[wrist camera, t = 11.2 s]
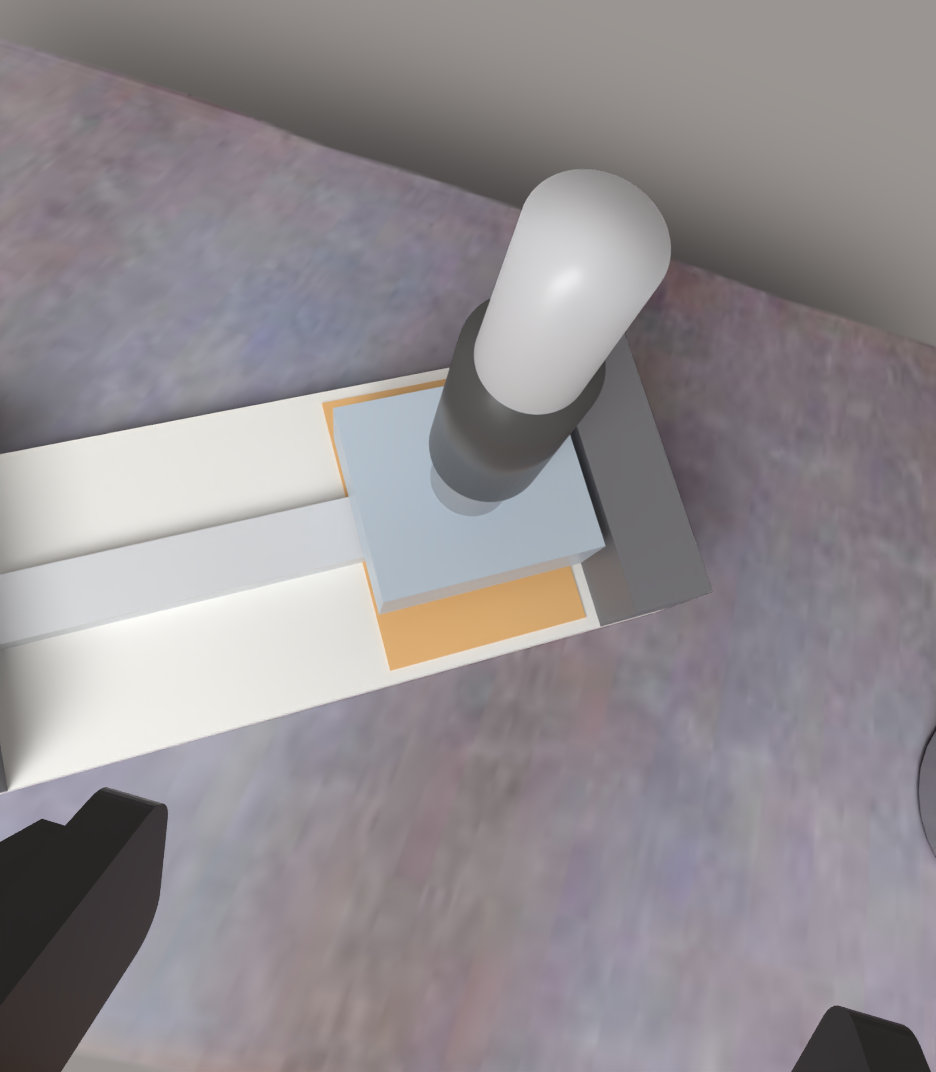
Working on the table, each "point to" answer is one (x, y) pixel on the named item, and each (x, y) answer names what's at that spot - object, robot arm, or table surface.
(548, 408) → the carriage
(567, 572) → the rail base
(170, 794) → the table surface
